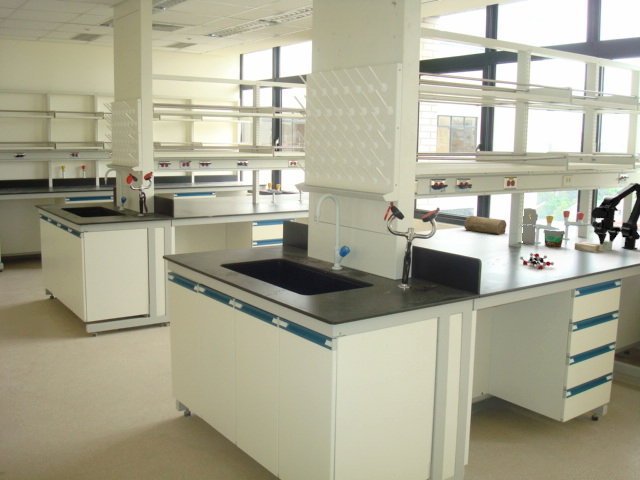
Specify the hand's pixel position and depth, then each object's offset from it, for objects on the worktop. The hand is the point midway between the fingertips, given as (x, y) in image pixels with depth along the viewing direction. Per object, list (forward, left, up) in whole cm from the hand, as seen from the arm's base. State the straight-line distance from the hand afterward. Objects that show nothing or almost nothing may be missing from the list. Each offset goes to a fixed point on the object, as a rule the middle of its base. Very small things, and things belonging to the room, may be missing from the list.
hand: (606, 244), depth 364 cm
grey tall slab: (+28, -35, -3) cm, 45 cm away
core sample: (+15, -80, -4) cm, 81 cm away
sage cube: (0, 0, -3) cm, 3 cm away
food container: (+23, -20, -3) cm, 31 cm away
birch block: (+12, -3, -4) cm, 13 cm away
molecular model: (+82, +15, -4) cm, 83 cm away
